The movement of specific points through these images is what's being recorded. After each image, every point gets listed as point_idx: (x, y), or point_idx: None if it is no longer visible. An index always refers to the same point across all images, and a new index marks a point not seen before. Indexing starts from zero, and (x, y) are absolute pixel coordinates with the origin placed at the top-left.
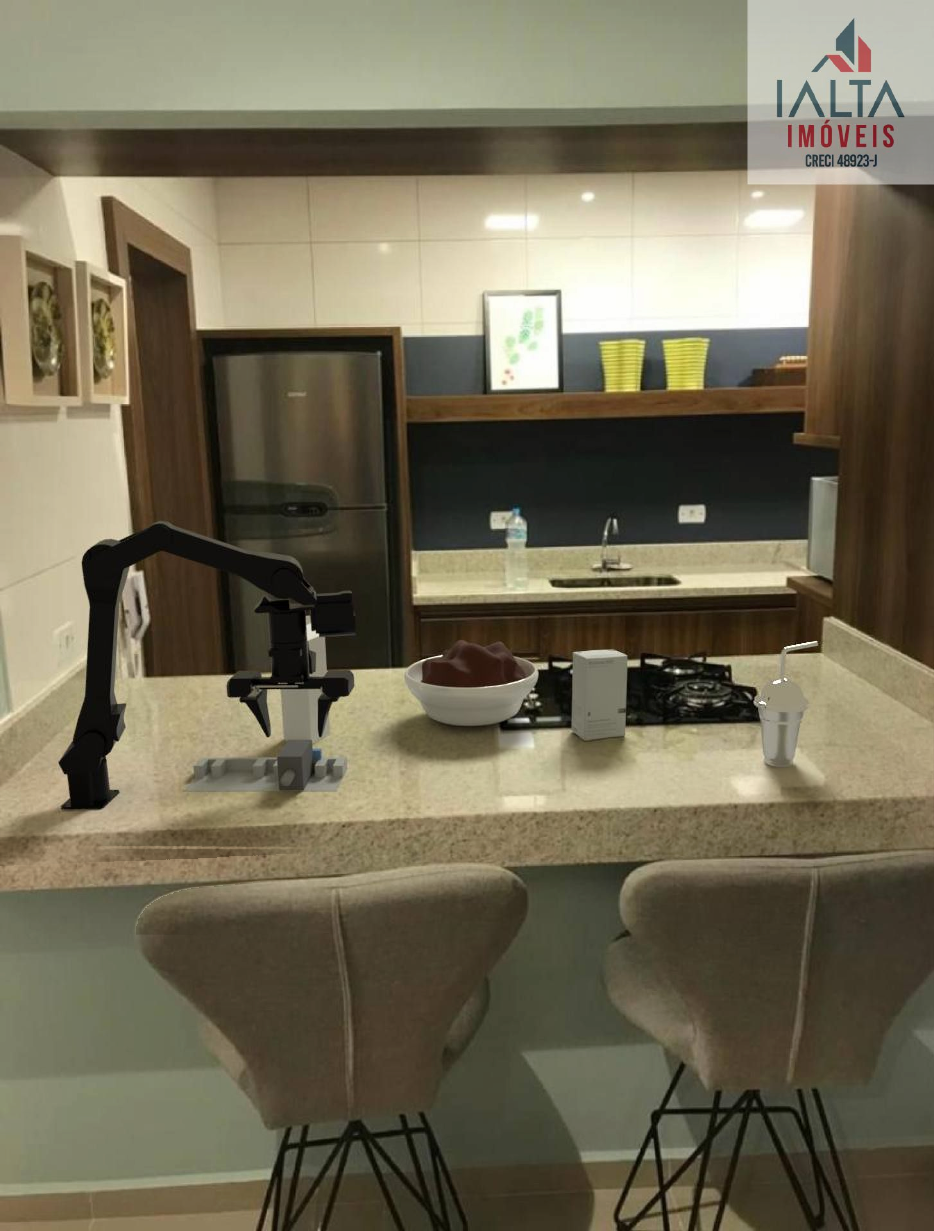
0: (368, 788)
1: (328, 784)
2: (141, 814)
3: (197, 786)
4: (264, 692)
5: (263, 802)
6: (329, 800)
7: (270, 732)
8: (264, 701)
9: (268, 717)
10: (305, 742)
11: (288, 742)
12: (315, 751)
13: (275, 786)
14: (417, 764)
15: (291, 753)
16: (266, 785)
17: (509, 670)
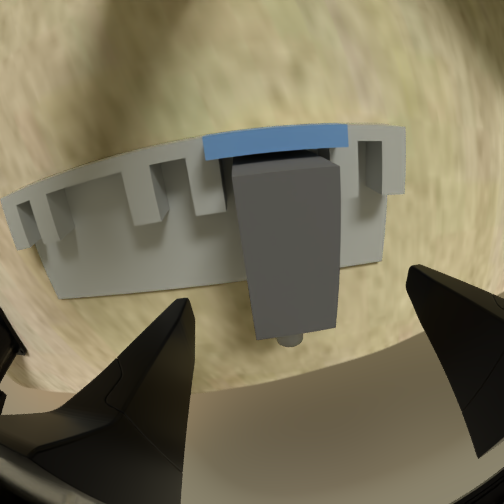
0: (433, 228)
1: (360, 228)
2: (73, 363)
3: (65, 278)
4: (99, 492)
5: (235, 321)
6: (368, 293)
7: (187, 307)
8: (139, 460)
9: (167, 362)
10: (321, 202)
11: (245, 210)
12: (329, 146)
13: (230, 257)
14: (493, 103)
15: (297, 312)
16: (204, 255)
17: None
